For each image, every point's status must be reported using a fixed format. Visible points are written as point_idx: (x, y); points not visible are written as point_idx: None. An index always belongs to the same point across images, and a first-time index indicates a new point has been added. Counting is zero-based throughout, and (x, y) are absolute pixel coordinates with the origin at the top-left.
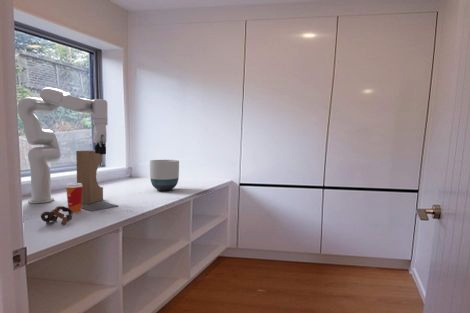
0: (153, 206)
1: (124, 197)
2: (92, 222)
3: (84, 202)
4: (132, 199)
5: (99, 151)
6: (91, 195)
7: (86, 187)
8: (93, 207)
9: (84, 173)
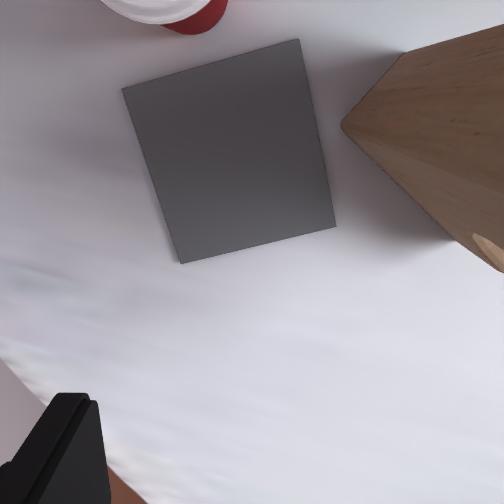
0: None
1: (425, 360)
2: None
3: (369, 95)
4: (333, 378)
5: (34, 442)
6: (368, 148)
7: (389, 113)
8: (205, 121)
9: (466, 101)
